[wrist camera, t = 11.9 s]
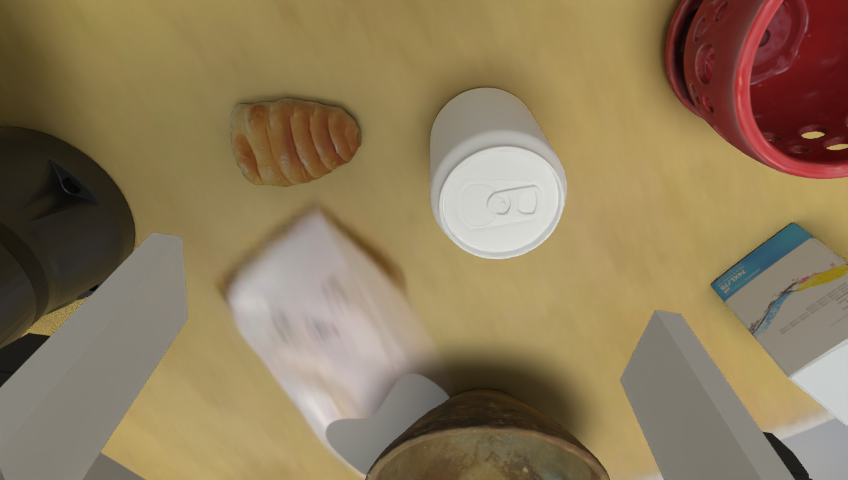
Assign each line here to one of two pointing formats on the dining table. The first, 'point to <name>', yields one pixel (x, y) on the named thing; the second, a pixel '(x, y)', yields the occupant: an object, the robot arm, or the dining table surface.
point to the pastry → (291, 140)
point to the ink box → (796, 311)
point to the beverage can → (494, 175)
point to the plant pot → (767, 78)
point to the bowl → (486, 444)
